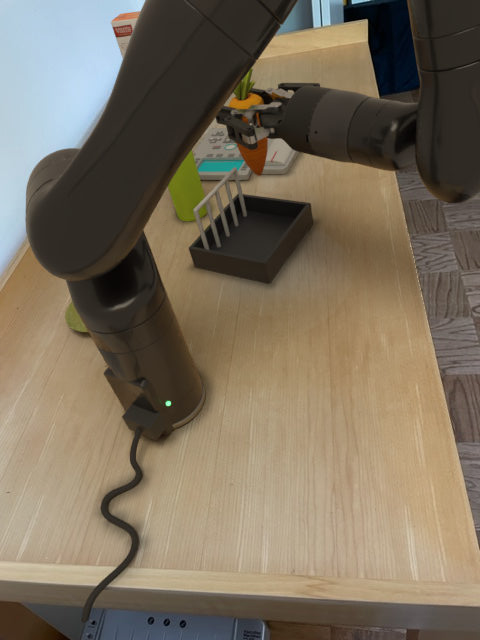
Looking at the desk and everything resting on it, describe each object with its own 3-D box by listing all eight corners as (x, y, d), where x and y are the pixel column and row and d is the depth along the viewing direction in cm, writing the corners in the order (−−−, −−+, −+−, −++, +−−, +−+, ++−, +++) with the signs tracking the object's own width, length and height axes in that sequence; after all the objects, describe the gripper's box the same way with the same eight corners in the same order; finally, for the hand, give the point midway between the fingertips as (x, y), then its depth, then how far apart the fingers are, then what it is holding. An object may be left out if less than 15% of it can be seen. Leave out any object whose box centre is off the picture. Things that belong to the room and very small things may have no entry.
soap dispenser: (209, 220, 96) (179, 113, 83) (174, 222, 98) (138, 117, 85) (216, 202, 100) (188, 96, 87) (182, 204, 102) (150, 101, 89)
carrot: (235, 181, 77) (210, 76, 67) (254, 164, 80) (232, 60, 69) (264, 186, 74) (242, 77, 64) (282, 168, 77) (264, 60, 67)
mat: (150, 316, 81) (146, 307, 79) (81, 352, 78) (76, 343, 77) (125, 280, 89) (121, 271, 87) (62, 311, 86) (56, 302, 85)
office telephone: (310, 119, 112) (284, 168, 99) (311, 130, 114) (286, 181, 101) (209, 122, 120) (173, 169, 107) (211, 133, 122) (177, 180, 109)
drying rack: (269, 284, 81) (257, 227, 74) (194, 267, 87) (177, 214, 80) (313, 223, 89) (306, 167, 82) (242, 212, 96) (230, 160, 89)
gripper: (368, 66, 62) (261, 54, 72) (287, 121, 56) (184, 99, 66) (370, 127, 67) (271, 108, 77) (297, 184, 61) (200, 155, 71)
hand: (231, 104), depth 72 cm, fingers closed on carrot, 5 cm apart
